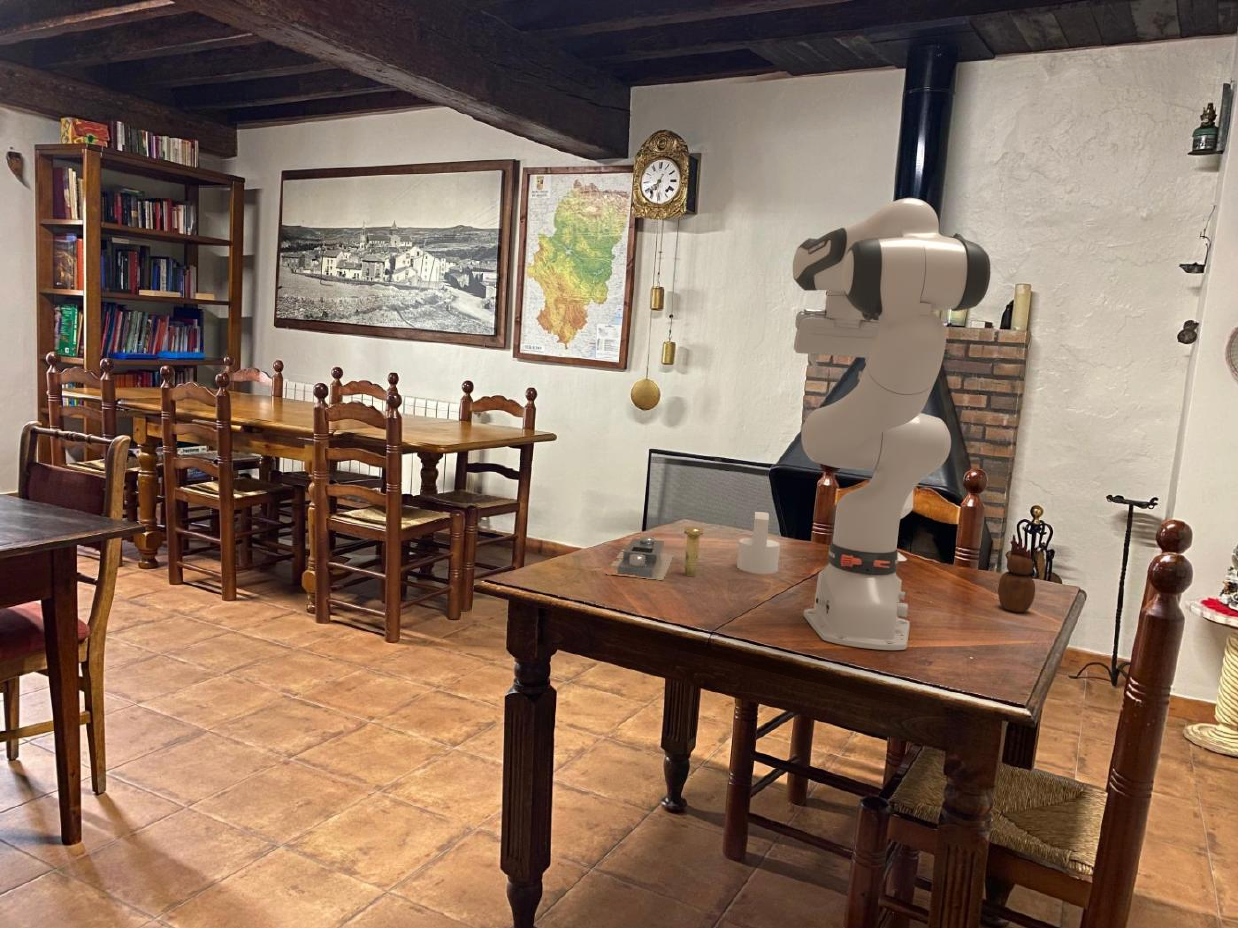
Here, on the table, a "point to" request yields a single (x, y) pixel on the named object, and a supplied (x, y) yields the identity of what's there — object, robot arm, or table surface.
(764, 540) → the cylinder with rectangular tab
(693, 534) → the brass pin
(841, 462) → the robot arm
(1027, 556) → the wooden figurine
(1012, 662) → the table surface
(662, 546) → the two-knob base plate
